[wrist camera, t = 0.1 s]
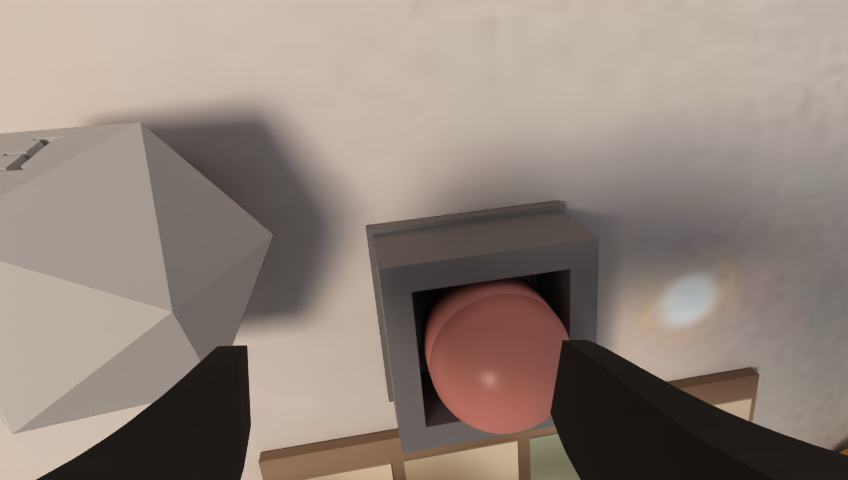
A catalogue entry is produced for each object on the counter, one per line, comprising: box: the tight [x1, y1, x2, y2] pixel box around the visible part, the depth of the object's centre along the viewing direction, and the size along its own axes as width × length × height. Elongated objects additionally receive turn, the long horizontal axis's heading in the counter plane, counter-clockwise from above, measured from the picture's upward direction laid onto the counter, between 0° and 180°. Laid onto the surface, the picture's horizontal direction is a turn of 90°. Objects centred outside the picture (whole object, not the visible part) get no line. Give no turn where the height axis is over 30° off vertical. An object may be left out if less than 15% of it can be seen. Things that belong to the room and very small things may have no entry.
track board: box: [259, 368, 759, 480], centre depth 26 cm, size 8×24×1 cm, turn 95°
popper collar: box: [366, 201, 599, 453], centre depth 21 cm, size 8×8×4 cm
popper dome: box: [421, 277, 570, 434], centre depth 19 cm, size 5×5×5 cm
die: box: [0, 122, 273, 434], centre depth 16 cm, size 8×9×10 cm
